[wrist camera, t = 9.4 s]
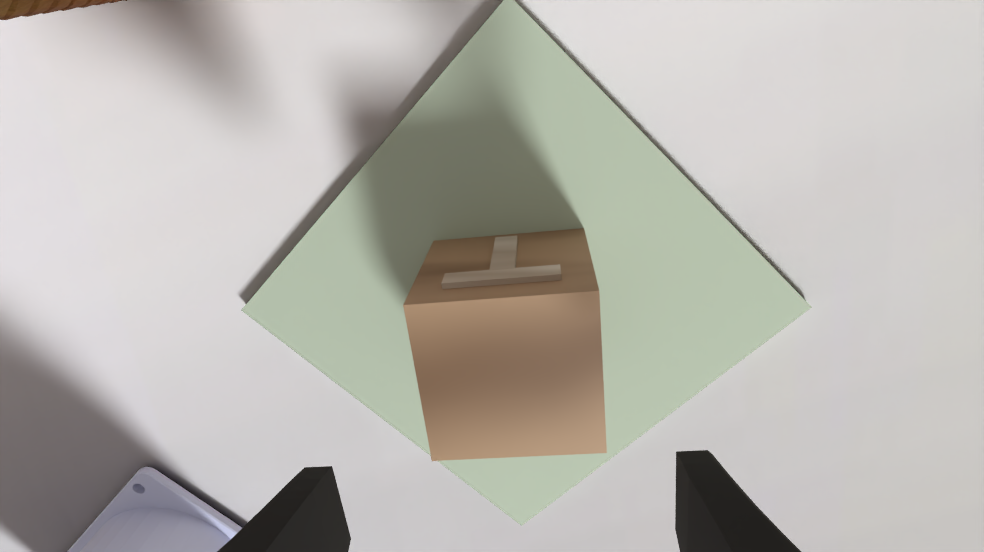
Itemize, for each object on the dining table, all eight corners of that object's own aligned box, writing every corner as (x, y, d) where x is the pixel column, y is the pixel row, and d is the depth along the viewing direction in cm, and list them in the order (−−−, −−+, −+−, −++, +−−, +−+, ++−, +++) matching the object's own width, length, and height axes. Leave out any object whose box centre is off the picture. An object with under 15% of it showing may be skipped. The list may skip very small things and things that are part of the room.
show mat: (521, 518, 25) (521, 525, 25) (246, 305, 22) (241, 310, 21) (806, 302, 20) (812, 307, 20) (509, -6, 17) (508, -6, 17)
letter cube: (591, 361, 21) (607, 452, 17) (453, 369, 22) (431, 461, 17) (583, 223, 19) (599, 284, 15) (432, 236, 20) (402, 299, 15)
